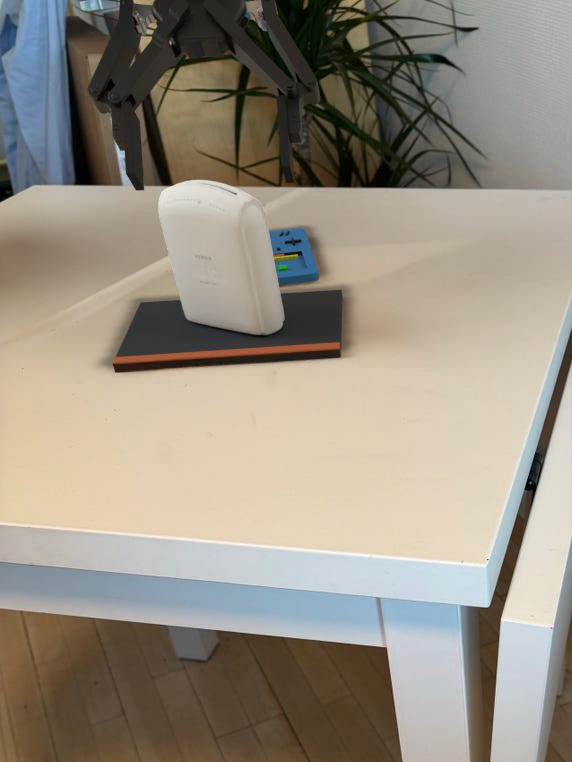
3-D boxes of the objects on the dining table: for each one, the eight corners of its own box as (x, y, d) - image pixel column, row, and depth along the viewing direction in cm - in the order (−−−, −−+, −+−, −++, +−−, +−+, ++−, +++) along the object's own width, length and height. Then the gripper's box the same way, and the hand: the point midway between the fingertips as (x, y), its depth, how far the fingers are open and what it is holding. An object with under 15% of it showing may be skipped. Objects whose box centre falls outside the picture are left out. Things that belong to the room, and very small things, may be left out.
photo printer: (178, 323, 86) (142, 182, 78) (208, 306, 89) (176, 169, 80) (264, 342, 82) (236, 196, 74) (293, 324, 85) (269, 182, 77)
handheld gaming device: (303, 224, 105) (318, 269, 94) (305, 234, 105) (320, 280, 95) (231, 232, 103) (238, 279, 93) (233, 242, 104) (240, 290, 93)
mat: (114, 372, 80) (111, 362, 80) (142, 309, 90) (140, 301, 90) (340, 357, 81) (339, 347, 81) (342, 297, 92) (341, 288, 91)
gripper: (338, -21, 87) (354, 194, 86) (73, -11, 85) (86, 207, 84) (329, -88, 79) (347, 146, 78) (38, -78, 78) (53, 160, 77)
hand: (212, 178), depth 81 cm, fingers open, 13 cm apart
